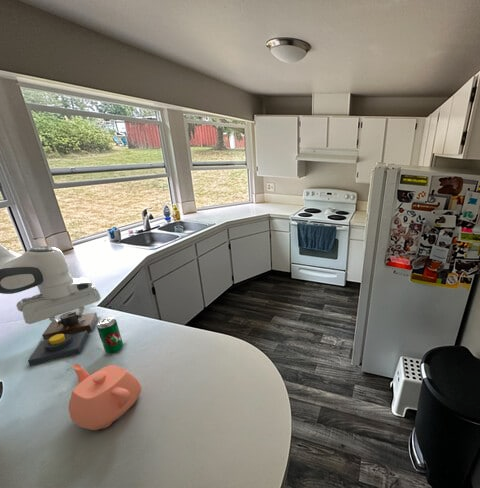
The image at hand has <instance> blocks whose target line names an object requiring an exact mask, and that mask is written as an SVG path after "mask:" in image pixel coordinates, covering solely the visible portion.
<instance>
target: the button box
mask: <svg viewBox="0 0 480 488" xmlns="http://www.w3.org/2000/svg"><path fill="white" fill-rule="evenodd" d="M64 336H65V340H64V341H63V342H60V343H58V344H54V345H51V344H50V342H49V339H48V340H44V339H43V340H41V341H40V343H38V345H37V346H36V348H35V349H34V351H33V352H32V354H31V355H30V357H29V358H27V363H28V364H29V367H31V366H36V365H40V364H45V363H47V362H51V361H52V362H53V361H55V360H59V359H63V358H67V357H72V356H75V355H78V354H81V351H82V350H83V347H84V345H85V344H86V342H87V339H88V337H89V332H87V331H84V332H79V333H75V334H64Z"/></svg>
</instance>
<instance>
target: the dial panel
mask: <svg viewBox="0 0 480 488" xmlns="http://www.w3.org/2000/svg"><path fill="white" fill-rule="evenodd" d="M82 315H83V317H81V318H78V320H79V321H78V322H77V323H75V324H73V325H71V326H63V325H59V326H57V325H56V323H55V322H53V321H51V322H50V324H49V325H48V326H47V327H46V329H45V330H44V332H43V333H42V335H41V336H42V339H43V341H44V340H48V339H50V338H51V337H52V336H54V335H57V334H75V333H79V332H84V331H87V333H90V332H93V330H94V328H95V325H96V323H97V322H98V319H99V317H98V314H97V312H96V311H94V312H90V313H85V314H82Z"/></svg>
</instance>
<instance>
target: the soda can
mask: <svg viewBox="0 0 480 488" xmlns="http://www.w3.org/2000/svg"><path fill="white" fill-rule="evenodd" d="M96 329H97V332H98V335H99V339H100V340H101V344H102V347H103V349H104V353H106V354H108V355H112V354H116V353H118V352H119V351H121V350H122V349H123V347H124V341H123V337H122V335H121V331H120V327H119V325H118V322H117V319H115V317H113V316H110V317H109V316H108V317H105V318H102V319H100V320H99V321H97V325H96Z"/></svg>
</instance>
